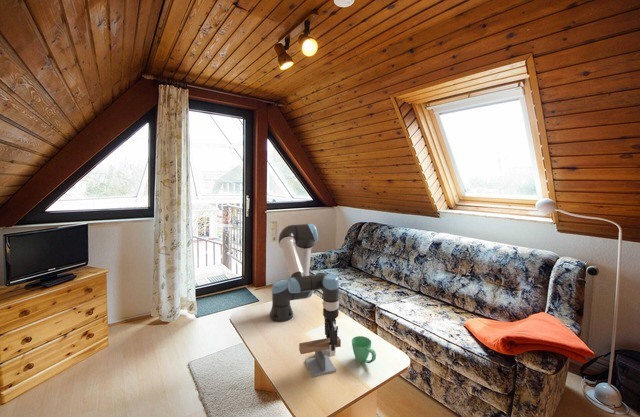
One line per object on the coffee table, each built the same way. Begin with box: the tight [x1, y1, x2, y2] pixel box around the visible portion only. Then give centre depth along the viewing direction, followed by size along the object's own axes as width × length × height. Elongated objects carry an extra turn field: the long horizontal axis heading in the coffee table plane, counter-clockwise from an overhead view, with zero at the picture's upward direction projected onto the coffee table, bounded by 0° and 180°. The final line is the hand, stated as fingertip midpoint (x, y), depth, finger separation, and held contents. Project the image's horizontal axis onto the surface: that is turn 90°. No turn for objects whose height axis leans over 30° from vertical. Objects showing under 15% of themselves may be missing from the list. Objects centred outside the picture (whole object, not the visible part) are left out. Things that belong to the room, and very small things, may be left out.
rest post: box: [321, 349, 329, 356], centre depth 151 cm, size 2×10×5 cm, turn 108°
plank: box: [298, 335, 342, 355], centre depth 139 cm, size 4×20×4 cm, turn 108°
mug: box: [351, 335, 377, 364], centre depth 143 cm, size 15×10×10 cm
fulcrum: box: [304, 351, 337, 378], centre depth 140 cm, size 12×12×7 cm
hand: (330, 353), depth 142 cm, fingers closed on plank, 3 cm apart
